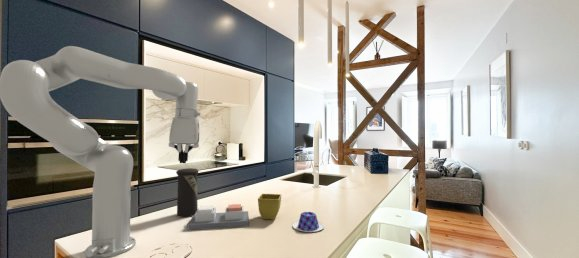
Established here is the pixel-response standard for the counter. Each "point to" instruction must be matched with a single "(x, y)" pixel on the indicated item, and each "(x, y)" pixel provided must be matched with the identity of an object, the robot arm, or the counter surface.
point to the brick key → (234, 207)
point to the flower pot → (269, 205)
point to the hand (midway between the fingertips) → (182, 162)
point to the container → (187, 192)
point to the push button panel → (219, 219)
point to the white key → (205, 209)
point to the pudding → (308, 222)
